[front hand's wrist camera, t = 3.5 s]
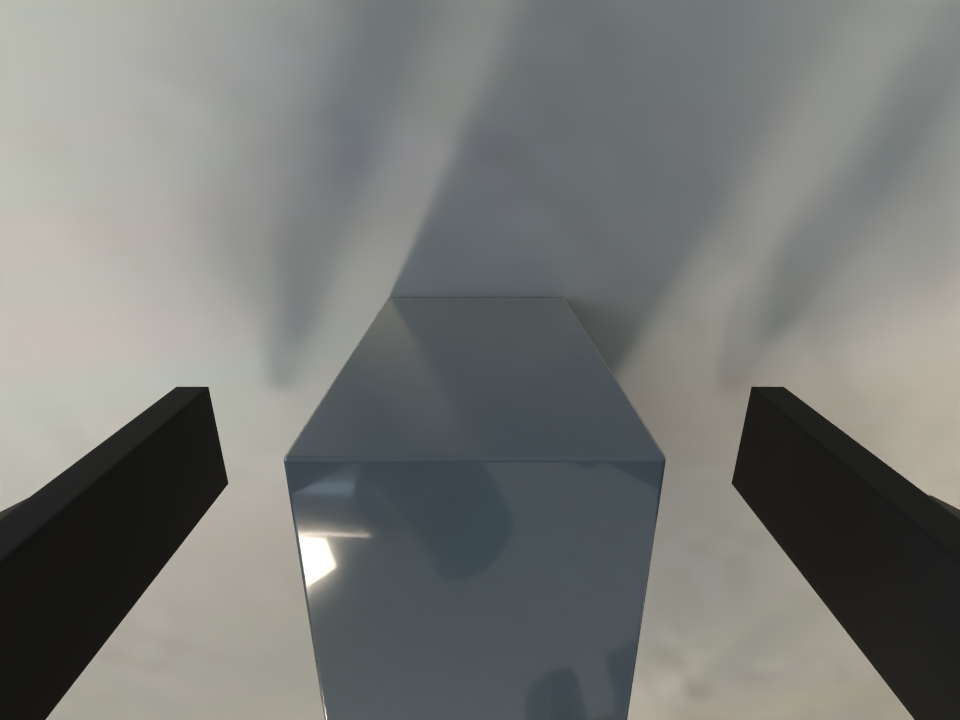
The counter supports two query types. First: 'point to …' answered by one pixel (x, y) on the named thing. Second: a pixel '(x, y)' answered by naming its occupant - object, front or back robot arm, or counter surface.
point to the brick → (475, 518)
